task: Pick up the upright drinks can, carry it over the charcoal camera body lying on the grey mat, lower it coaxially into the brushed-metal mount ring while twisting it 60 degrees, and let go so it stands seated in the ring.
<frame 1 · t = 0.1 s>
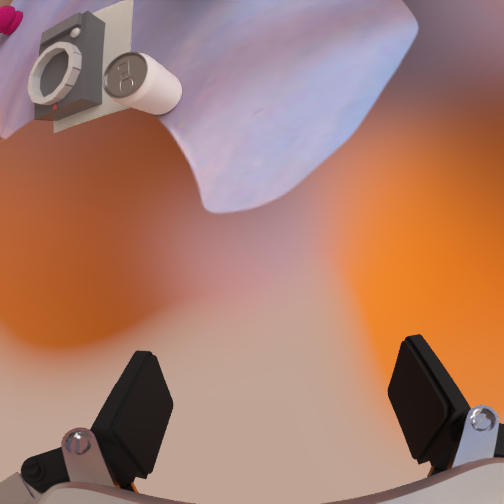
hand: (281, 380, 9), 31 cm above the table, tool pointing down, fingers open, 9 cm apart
can: (162, 94, 34), on the table
camera body: (78, 70, 31), resting on mat
mat: (89, 61, 31), on the table
pepper mill: (15, 23, 26), on the table
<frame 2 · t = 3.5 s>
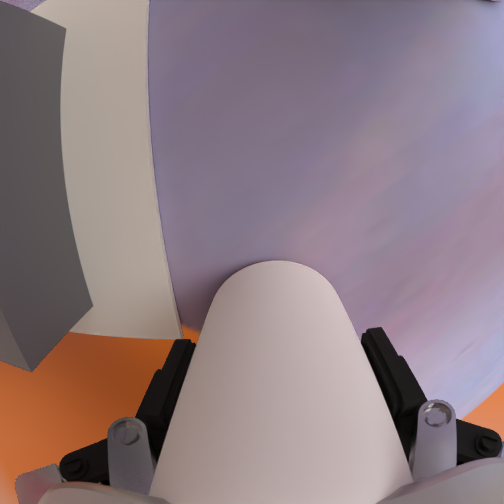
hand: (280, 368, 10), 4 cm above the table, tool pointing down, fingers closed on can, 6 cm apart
can: (275, 315, 14), on the table, touching gripper
camera body: (10, 180, 11), resting on mat
mat: (31, 155, 11), on the table
when the fingers open (11 cm above the table, at t = 7.9 s): can stays where it is, resting on camera body.
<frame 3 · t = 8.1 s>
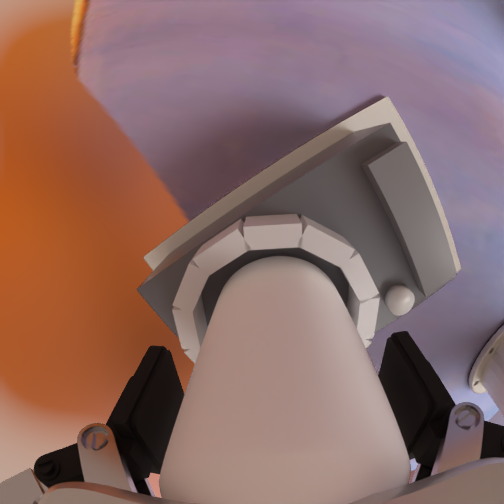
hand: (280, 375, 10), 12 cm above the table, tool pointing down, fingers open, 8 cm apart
can: (278, 308, 15), point 6 cm above the table, touching camera body
camera body: (296, 250, 20), resting on mat
mat: (321, 263, 21), on the table
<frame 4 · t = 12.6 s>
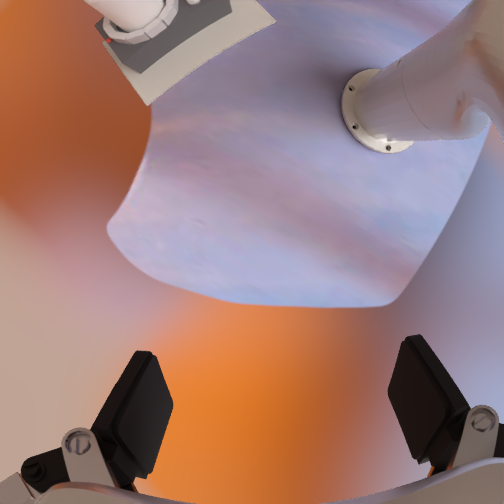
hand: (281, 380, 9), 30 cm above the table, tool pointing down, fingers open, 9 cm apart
can: (143, 15, 24), point 6 cm above the table, touching camera body
camera body: (168, 22, 29), resting on mat
mat: (181, 26, 29), on the table
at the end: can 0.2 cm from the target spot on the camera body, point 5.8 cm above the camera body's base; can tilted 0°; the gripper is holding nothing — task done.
